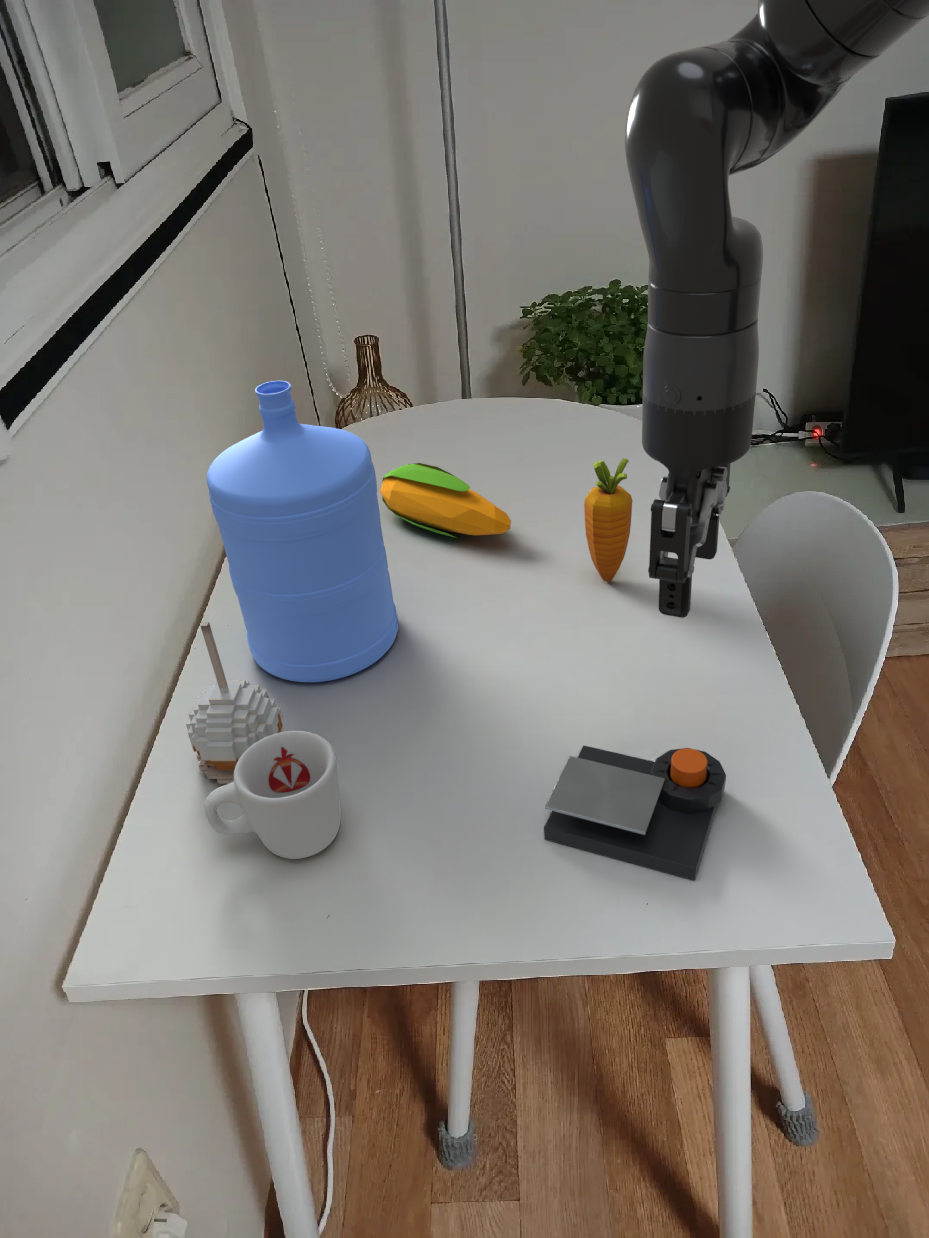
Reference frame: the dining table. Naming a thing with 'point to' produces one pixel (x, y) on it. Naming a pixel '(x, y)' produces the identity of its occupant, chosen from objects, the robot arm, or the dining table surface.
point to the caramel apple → (228, 719)
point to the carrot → (608, 520)
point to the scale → (672, 826)
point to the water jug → (304, 544)
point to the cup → (283, 794)
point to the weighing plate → (606, 794)
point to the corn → (440, 502)
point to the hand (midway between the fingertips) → (688, 583)
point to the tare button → (688, 768)
